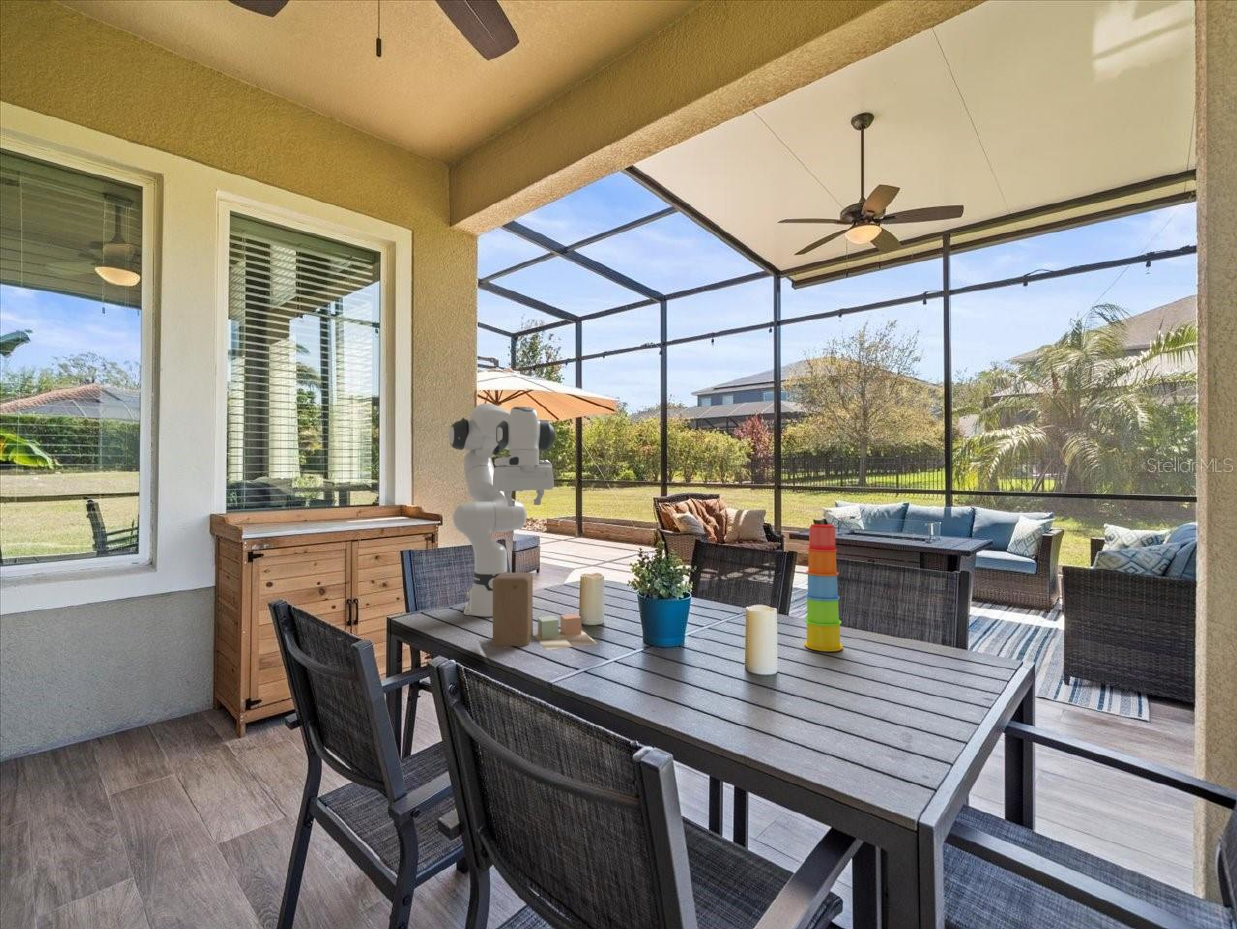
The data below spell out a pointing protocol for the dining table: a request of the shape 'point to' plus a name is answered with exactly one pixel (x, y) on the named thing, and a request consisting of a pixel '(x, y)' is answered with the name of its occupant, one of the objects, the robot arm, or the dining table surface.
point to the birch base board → (565, 641)
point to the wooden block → (512, 609)
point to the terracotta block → (570, 624)
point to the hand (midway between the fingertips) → (524, 505)
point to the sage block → (548, 627)
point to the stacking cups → (822, 590)
